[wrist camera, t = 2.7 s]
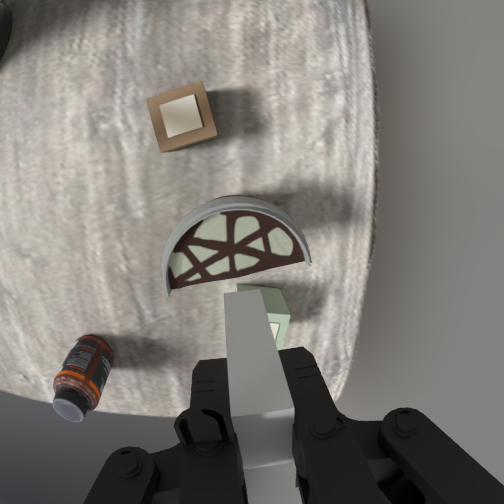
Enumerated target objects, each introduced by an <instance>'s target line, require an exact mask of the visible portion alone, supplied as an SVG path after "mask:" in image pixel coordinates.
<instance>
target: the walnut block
mask: <svg viewBox="0 0 504 504" xmlns="http://www.w3.org/2000/svg"><path fill="white" fill-rule="evenodd" d="M146 101H147V105H148V109H149V112H150V116H151V120H152V123H153V127H154V131H155V134H156V138H157V141H158V145H159V148H160V152H161V153H162V152H171V151H174V150H177V149H180V148H183V147H187V146H190V145H193V144H196V143H200V142H203V141H206V140H210V139H213V138H217V137H218V135H217V131H216V127H215V124H214V120H213V117H212V113H211V109H210V106H209V102H208V99H207V95H206V91H205V88H204V84H203V81H201V82H197V83H194V84H191V85H187V86H184V87H181V88H178V89H174V90H171V91H168V92H165V93H162V94H159V95H156V96H154V97H151V98H148V99H146Z"/></svg>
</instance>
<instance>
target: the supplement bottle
mask: <svg viewBox="0 0 504 504" xmlns="http://www.w3.org/2000/svg"><path fill="white" fill-rule="evenodd" d="M112 364H113V354H112V351H111V349H110V348H109V347H108V346H107V344H105V343H104V342H103V341H102V340H100V339H98V338H96V337H93V336H82V337H80V338H78V339H77V340H76V342H75V343H74V345H73V347H72V348H71V350H70V352H69V354H68V355H67V357H66V359H65V361H64V362H63V364H62V366H61V368H60V370H59V371H58V373H57V375H56V377H55V379H54V382H53V389H54V392H55V397H54V400H53V407H54V409H55V411H56V412H57V413H58V414H59V415H61V416H62V417H64V418H65V419H67V420H70V421H73V422H80V421H82V420H83V419H84V417H85V414H86V412H89V411H92V410H94V409H95V408H96V407H97V405H98V402H99V400H100V397H101V394H102V391H103V389H104V386H105V383H106V380H107V378H108V375H109V372H110V370H111V367H112Z"/></svg>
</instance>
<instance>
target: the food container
mask: <svg viewBox="0 0 504 504" xmlns="http://www.w3.org/2000/svg"><path fill="white" fill-rule="evenodd" d="M302 261H305V262H306V263H307V264H308V265H309V266H311V264H310V263H311V262H312V261H311V257H310V252H309V248H308V244H307V242H306V239H305V237H304V235H303V233H302V231H301V230H300V228H299V226H298V225H297V224H296V223H295V222H294V220H293V219H292V218H291V217H290V216H289V215H288V214H286V213H285V212H284V211H283V210H281V209H280V208H278V207H276V206H275V205H273V204H271V203H269V202H266V201H263V200H261V199H257V198H252V197H246V196H223V197H219V198H216V199H214V200H212V201H209V202H207V203H205V204H203V205H201V206H199V207H197V208H195V209H194V210H192V211H191V212H190V213H188V214H187V215H186V216H185V217H184V218H183V219H182V220H181V221H180V222H179V223H178V224H177V226H176V227H175V228H174V230H173V231H172V233H171V235H170V237H169V239H168V241H167V243H166V246H165V250H164V253H163V261H162V273H163V284H164V289H165V293H167V296H169V294H170V292H171V290H172V289H177V288H182V287H185V286H189V285H194V284H200V283H205V282H211V281H217V280H225V279H231V278H237V277H241V276H245V275H249V274H252V273H256V272H259V271H263V270H267V269H271V268H276V267H280V266H285V265H289V264H294V263H298V262H302Z"/></svg>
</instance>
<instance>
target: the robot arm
mask: <svg viewBox="0 0 504 504" xmlns="http://www.w3.org/2000/svg"><path fill="white" fill-rule="evenodd" d="M11 26H12V16H11V12H10V9H9V8H8V7H7V6H6V5H4V4H2V3H0V59H1V57H2V55H3V53H4V51H5V48H6V46H7V43H8V40H9V36H10V32H11ZM224 309H225V330H226V349H227V358H220V359H209V360H200V361H199V362H198V364H197V365H196V367H195V368H194V370H193V374H192V387H191V400H190V408H189V409H187V410H185V411H183V412H182V413H181V414H180V415H179V416H178V417H177V418H176V421H175V423H174V429H175V431H176V433H177V436H178V438H179V440H180V443H179V444H177V445H176V446H174V447H172V448H169V449H166V450H163V451H159V452H155V453H151V454H149V453H148V452H147V451H145V450H143V449H141V448H139V447H130V446H129V447H124V448H120V449H118V450H117V451H115V452H113V453H112V454H111V455H110V456H109V458H108V459H107V460H106V462H105V464H104V466H103V468H102V470H101V472H100V473H99V475H98V477H97V479H96V481H95V483H94V485H93V486H92V488H91V490H90V492H89V494H88V496H87V498H86V499H85V501H84V504H248V497H247V488H246V483H245V479H244V471H243V469H249V468H257V467H265V466H272V465H279V464H285V463H291V462H293V457H294V461H295V465H296V487H299V491H300V495H301V499H302V503H303V504H504V486H503V485H502V484H501V483H500V482H499V481H498V480H497V479H496V478H495V477H493V476H492V475H491V474H490V473H489V472H488V471H487V470H486V469H484V468H483V467H482V466H481V465H480V464H479V463H478V462H477V461H475V460H474V459H473V458H472V457H471V456H470V455H469V454H468V453H467V452H465V451H464V450H463V449H462V448H461V447H460V446H459V445H458V444H456V443H455V442H454V441H453V440H452V439H451V438H450V437H449V436H447V435H446V434H445V433H444V432H443V431H442V430H441V429H440V428H439V427H437V426H436V425H435V424H434V423H433V422H432V421H431V420H430V419H429V418H427V417H426V416H425V415H424V414H423V413H421V412H419V411H418V410H416V409H412V408H398V409H396V410H392V411H390V412H389V413H388V414H387V415H386V416H385V417H384V419H383V421H357V420H353V419H350V418H347V417H346V416H345V415H343V414H342V413H340V412H339V411H338V410H337V408H336V406H335V404H334V402H333V400H332V397H331V395H330V393H329V390H328V388H327V386H326V384H325V381H324V379H323V377H322V376H321V372H320V370H319V368H318V367H317V363H316V361H315V358H314V356H313V354H312V353H310V352H309V351H308V350H307V349H305V348H304V347H297V348H290V349H284V350H277V346H276V343H275V340H274V336H273V333H272V329H271V326H270V322H269V319H268V316H267V312H266V309H265V305H264V302H263V298H262V295H261V291H260V289H256V290H248V291H239V292H231V293H224Z"/></svg>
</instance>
